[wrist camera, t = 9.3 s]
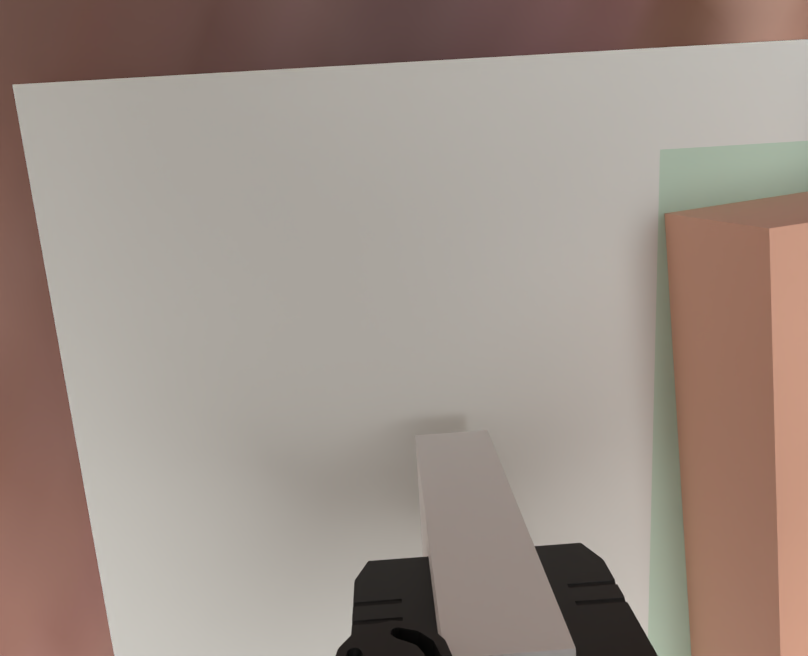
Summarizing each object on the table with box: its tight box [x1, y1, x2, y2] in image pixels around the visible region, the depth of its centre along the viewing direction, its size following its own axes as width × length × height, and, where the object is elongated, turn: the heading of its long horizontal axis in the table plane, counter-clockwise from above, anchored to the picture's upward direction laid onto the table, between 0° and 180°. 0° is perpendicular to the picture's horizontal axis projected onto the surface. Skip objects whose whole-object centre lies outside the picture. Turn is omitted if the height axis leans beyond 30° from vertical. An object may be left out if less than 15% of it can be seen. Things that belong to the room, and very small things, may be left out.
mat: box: [12, 39, 808, 656], centre depth 16 cm, size 18×28×1 cm, turn 93°
